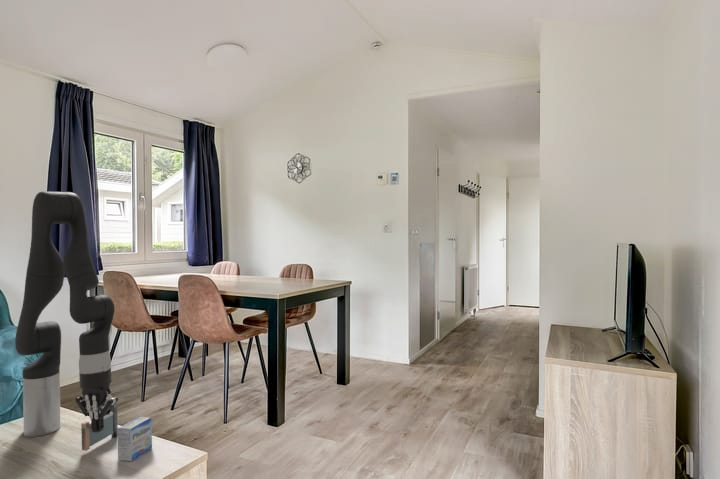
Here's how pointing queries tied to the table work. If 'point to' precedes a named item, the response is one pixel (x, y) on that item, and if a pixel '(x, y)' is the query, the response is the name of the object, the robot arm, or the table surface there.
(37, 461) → the table surface
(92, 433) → the gate
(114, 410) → the gate post
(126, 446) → the medicine box
